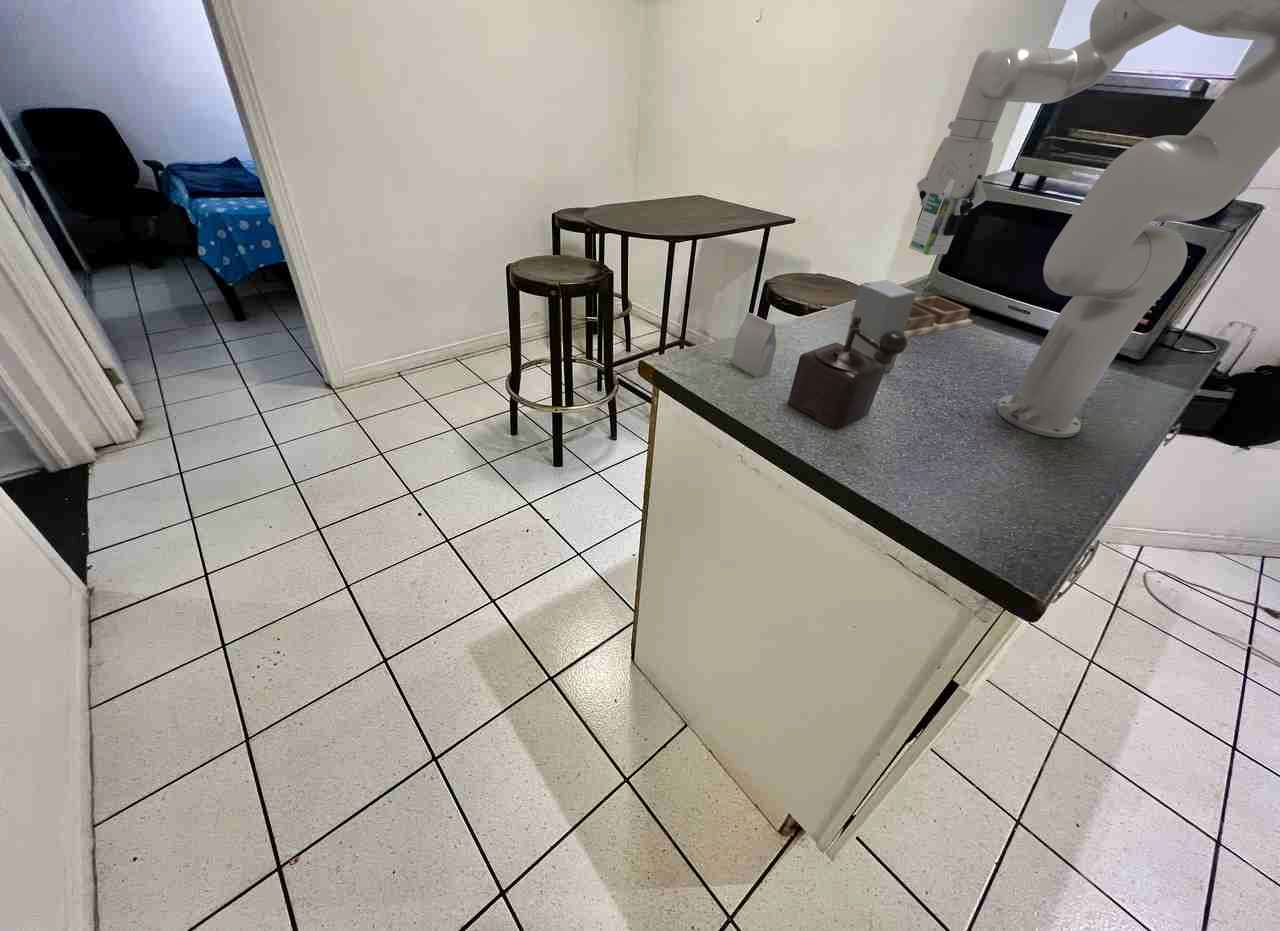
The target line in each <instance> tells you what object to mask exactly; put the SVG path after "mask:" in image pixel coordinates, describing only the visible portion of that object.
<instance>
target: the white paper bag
mask: <svg viewBox="0 0 1280 931" xmlns="http://www.w3.org/2000/svg"><path fill="white" fill-rule="evenodd" d="M776 346H777V339H776V324H775V323H772V322H770V321H769V320H766V319H764V318H762V317H760V316H758V315H756V314H754V313H751V312H749V311H748V312H746V314H745V317H744V320H743V322H742V324H741V325H740V327H739V329H738V331H737V333H736V337H735V342H734V348H733V351H732V353H733V354H732V359H731V364H732V365H734V366H736V367H737V368H738V369H740V370H743V371H744V372H745V373H747V374H749V375H751V376H753V377H754V378H760V377H763V376H766V375H768V374H770V373H771V369H772V364H773V361H774V356H775V353H776V348H777V347H776Z"/></svg>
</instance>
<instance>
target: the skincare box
mask: <svg viewBox="0 0 1280 931" xmlns="http://www.w3.org/2000/svg"><path fill="white" fill-rule="evenodd" d="M917 294H918V293H917V292H916V291H914V290H911V289H909V288H906V287H903V286H901V285H900V284H896V283H894V282H891V281H889V280H886V279H885V280H884V279H883V280H877V281H868V282H861V283H859V287H858V292H857V295H856V299H855V303H854V307H853V308H854V310H853V313H851V314H852V315H851V319H850V322H849V326H848V331H847V334H846V339H845V342H844V345H845V344H846V342H847V340H848V337H849V334H850V328H849V327H850V325H851V324H853V318H854V317H856V316H860V317H861V320H862V321H861V323H860V324H859V326H860V327H859V329H860V330H861V331H862V332H864V333H865V334H866V335H868V336H869V337H871V338H872V339H874V340H875V341H876V342H878V343H879V340H880V337H881V335H882V334H883V333H884V332H887V331H890V330H897V331H900V332H901V333H903V334H904V332H905V328H906V325H907V322H908V319H909V316H910V313H911V309H912V306H913V303H914V300H915V299H916V298H917ZM852 348H854V349H856V350H858V351H859V352H861V353H862V354H864V355H866V356H869V357H871V358H873V359H875V358H874V357H873V356H874V353H875V352H877V351H878V350H877V349H875V348H874V347H873V346H871V345H870V344H868V343H867V342H865V341H864V340H863V339H861V338H860V337H859V336H858V335H857V334H855V337H854V340H853V343H852ZM897 357H898V354H896V355H895V356H893V358H892V363H891V364H889V365H887V367H886V370H885V372H884V373H887V372H891V371H892V370H893V369H894V366H895V363H896V360H897Z"/></svg>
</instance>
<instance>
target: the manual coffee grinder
mask: <svg viewBox="0 0 1280 931" xmlns="http://www.w3.org/2000/svg"><path fill="white" fill-rule="evenodd" d="M861 321H862V320H861V317H860V316H856V317H854V318H853V324H851V325H850V324H849V326H850V327H849V326H848V329H849V328H850V334H849V337H848V340H847V342H846V341H845V342H846V344H845V343H844V344H841V343H839V342H833V343H831V344H830V343H829V344H827V345H824V346H821V347H818V348H815V349H813V350H809V351H806V352H805V353H802V354H800V356H799V358H798V363H797V367H796V370H795V375H794V378H793V382H792V385H791V389H790V393H789V397H788V401H787V403H786V404H787V405H788V406H790V407H791V408H793V409H794V410H797V411H798V412H799V413H801V414H802V415H805V416H806V417H808V418H809V419H811V420H815V421H816V422H819V423H821V424H823V425H824V426H826V427H830V428H832V429H834V430H839V429H841V428H845V427H847V426H849V425H851V424H853V423H856V422H857V421H860V420H862V419H863V418H864V417H865V416H867V415H868V414H869V412H870V411H871V408H872V405H873V402H874V400H875V396H876V394H877V393H878V389H879V387H880V384H881V382H882V380H883V377H884V375H885V373H886V372H885V370H886V367H887V365H889V364H891V363H892V358H893V356H895V355H896V354H897V355H898V354H902V353H903V352H904V351H905V349H906V348H907V347H908V341H909V340H908V337H905V336H904V334H903V333H901V332H900V331H897V330H890V331H887V332H884V333H883V334H882V335H881V337H880V340H879V343H878V342H876V341H875V340H874V339H872V338H871V337H869V336H868V335H866V334H865V333H864V332H862V331H861V330H860V329H859V327H860V326H859V324H860V323H861ZM855 334H857V335H858V336H859V337H860V338H861V339H863V340H864V341H865V342H867V343H868V344H870V345H871V346H873V347H874V348H875V349H877V350H878V351H877V352H875V353H874V356H873V357H874V358H875V359H873V358H871V357H869V356H866V355H864V354H862V353H861V352H859V351H858V350H856V349H854V348H852V343H853V340H854V337H855Z"/></svg>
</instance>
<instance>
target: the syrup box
mask: <svg viewBox="0 0 1280 931" xmlns="http://www.w3.org/2000/svg"><path fill="white" fill-rule="evenodd" d="M949 180H950V179H949ZM955 182H956V179H952V180H951V181H949V182H947V183H949V184H948V185H947V187H946V189H945V190H944V191H943V193H942V194H941V195H939V194H930V193H929V194H928V197H927V199H926V202H925V205H924V208H923V210H922V213H921V216H920V219H919V221H918V220H917V222H918V224H917V223H916V225H917V227H915V231H914V233H913V235H912V238H911V241H910V243H909V246H908V249H912V250H914V251H916V252H918V253H921V254H923V255H925V256H931V255H932V256H935V255H936V256H937V255H947V253H948V251H949V249H950V246H951V245H952V241H953V239H954V237H955V235H950V236H945V235H944V234H943V232H944V230H945V227H946V225H947V222H948V220H949V217H950V215H951V214H954V205H955V199H951V198H950V195H951V193H952V190H953V187H954V185H955ZM947 183H946V184H947ZM962 202H963V201H962Z"/></svg>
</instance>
